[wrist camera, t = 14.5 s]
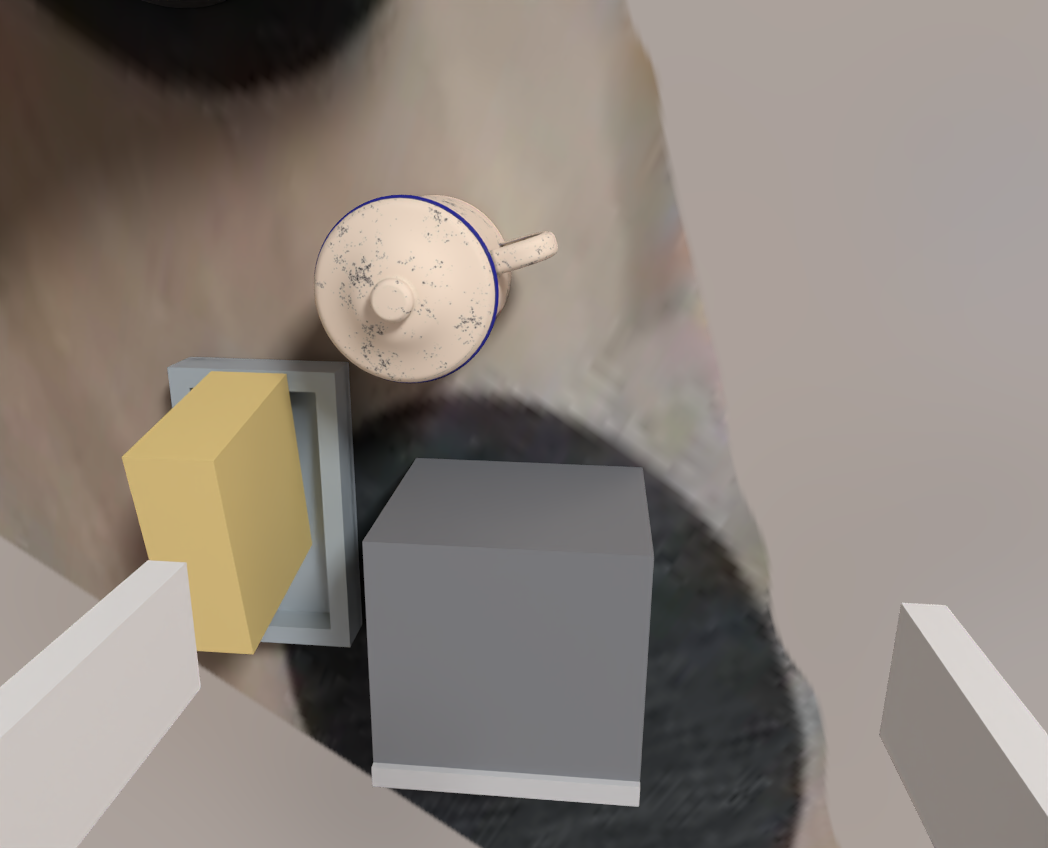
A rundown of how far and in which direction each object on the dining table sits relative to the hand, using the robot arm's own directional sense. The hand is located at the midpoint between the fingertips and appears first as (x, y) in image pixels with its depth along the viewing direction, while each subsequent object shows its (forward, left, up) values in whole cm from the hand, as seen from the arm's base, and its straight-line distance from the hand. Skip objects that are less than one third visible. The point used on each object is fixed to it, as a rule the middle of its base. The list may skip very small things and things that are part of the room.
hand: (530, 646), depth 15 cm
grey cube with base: (+16, -3, -35) cm, 38 cm away
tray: (+12, -19, -35) cm, 41 cm away
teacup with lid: (-3, -7, -35) cm, 36 cm away
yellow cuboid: (+9, -19, -33) cm, 39 cm away
